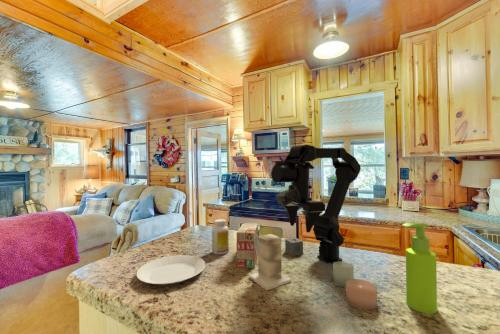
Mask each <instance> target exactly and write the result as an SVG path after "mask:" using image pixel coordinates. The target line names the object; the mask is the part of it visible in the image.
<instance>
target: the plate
mask: <svg viewBox="0 0 500 334" xmlns="http://www.w3.org/2000/svg"><path fill="white" fill-rule="evenodd" d="M205 267H206V261H204V259H203V258H201V257H199V256H196V255H195V256H194V255H188V254H178V255H170V256H164V257H160V258H157V259H154V260H150V261H148V262H147V263H145V264H143V265H142V266H140V267H139V269H138V270H137V272H136V278H137V279H138V280H140V281H141V282H143V283H145V284H152V285H165V286H166V285H173V284H179V283H182V282H185V281H186V280H187V281H188V280H190V279H191V278H194V277H195V276H197V275H199V274H201V273H202V271H203V270H205Z"/></svg>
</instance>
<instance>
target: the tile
mask: <svg viewBox="0 0 500 334" xmlns="http://www.w3.org/2000/svg"><path fill="white" fill-rule="evenodd" d="M281 275H282V278H280V279H277V280H274V281H271V282H267V281H265V280H264V279H262V278H261V277H259V276H258V271H257V272H254V273H252V274H249V275H248V277H249V279H251V281H253V282H255V283H256V284H257V285H258V286H260V287H261V288H263V289H264V290H265V291H270V290H272V289H275V288H278V287H280V286H283V285H285V284H286V285H287V284H288V283H289V284H290V283H291V282H292V278H290V277H289V276H288V275H285V274H284V273H283V272H281Z"/></svg>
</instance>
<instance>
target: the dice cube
mask: <svg viewBox="0 0 500 334" xmlns="http://www.w3.org/2000/svg"><path fill="white" fill-rule="evenodd" d="M284 241H285V243H284V245H285V246H284V249H285V250H284V252H286V253H287V254H288V255H291V256H292V257H294V256H298V255H304V241H303V240H302V239H300V238H297V237H291V238H285V240H284Z"/></svg>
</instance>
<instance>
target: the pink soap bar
mask: <svg viewBox="0 0 500 334" xmlns="http://www.w3.org/2000/svg"><path fill="white" fill-rule="evenodd" d="M345 299H346V302H347V303H348V304H349V305H350V306H353V307H354V308H357V309H359V310H365V311H371V310H375V309H377V307H378V288H377V286H376V285H375V284H374V283H372V282H370V281H367V280H364V279H360V278H354V279H350V280H348V281H347V282H346V287H345Z"/></svg>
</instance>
